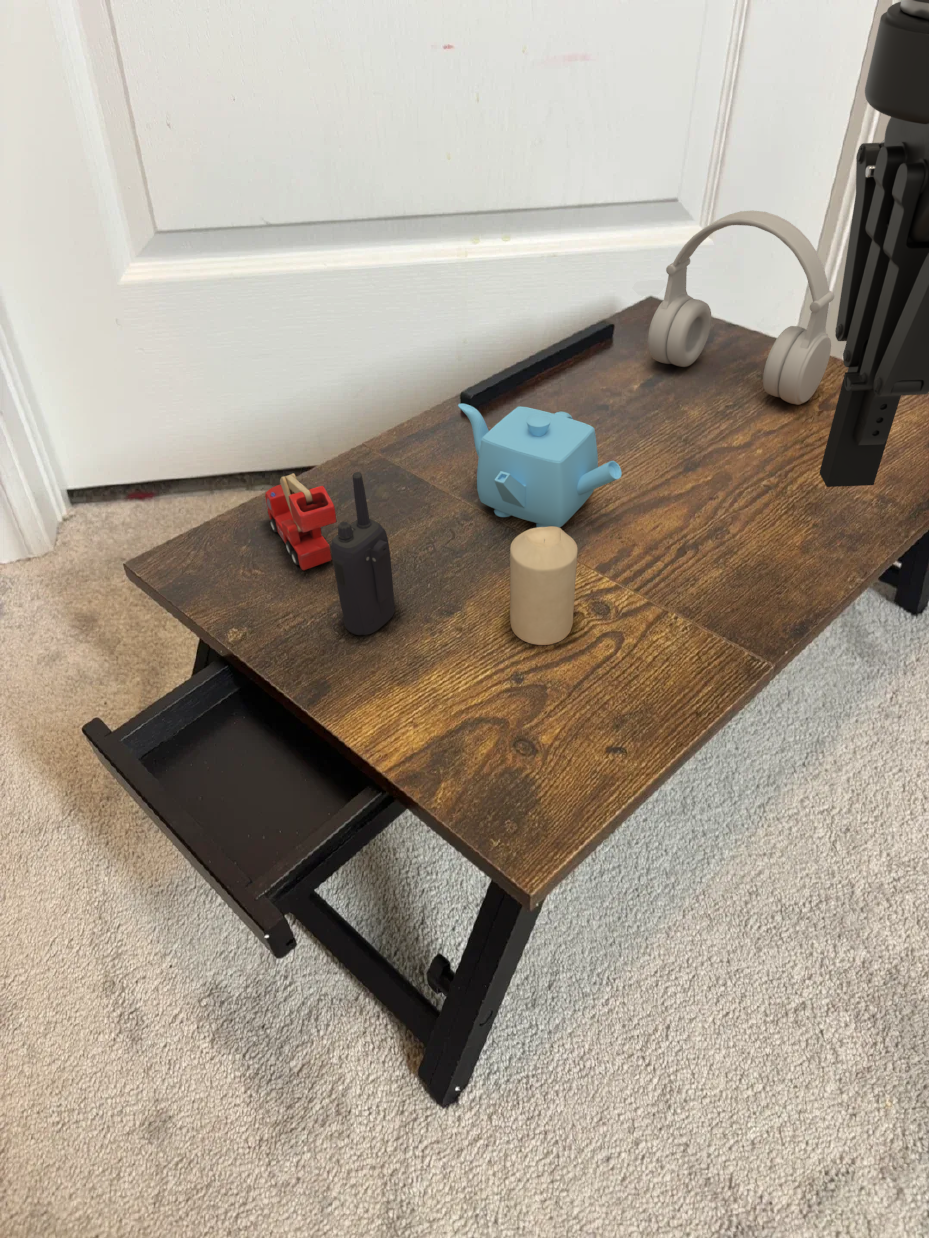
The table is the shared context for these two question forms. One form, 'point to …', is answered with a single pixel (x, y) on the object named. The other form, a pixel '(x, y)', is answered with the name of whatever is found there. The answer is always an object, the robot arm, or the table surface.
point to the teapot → (537, 464)
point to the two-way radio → (363, 569)
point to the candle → (542, 585)
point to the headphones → (795, 350)
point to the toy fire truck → (301, 520)
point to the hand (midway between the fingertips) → (846, 478)
